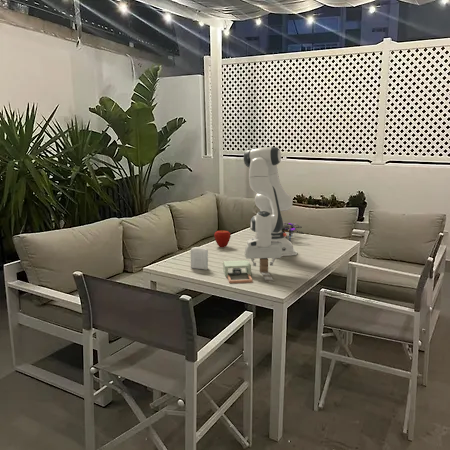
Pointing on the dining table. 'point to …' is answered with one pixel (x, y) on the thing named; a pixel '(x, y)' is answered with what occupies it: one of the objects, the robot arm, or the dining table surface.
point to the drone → (286, 228)
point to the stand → (236, 266)
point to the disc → (236, 271)
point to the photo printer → (199, 258)
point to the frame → (240, 280)
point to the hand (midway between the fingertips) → (262, 265)
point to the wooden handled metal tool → (265, 269)
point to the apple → (222, 238)
